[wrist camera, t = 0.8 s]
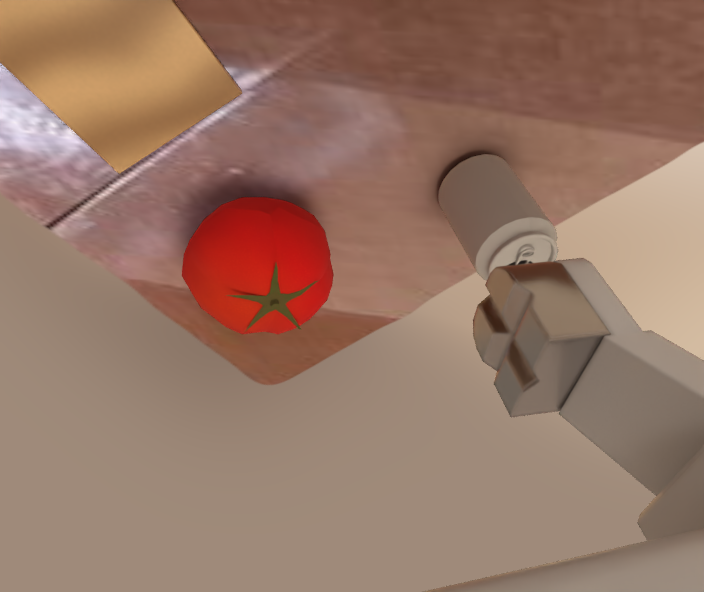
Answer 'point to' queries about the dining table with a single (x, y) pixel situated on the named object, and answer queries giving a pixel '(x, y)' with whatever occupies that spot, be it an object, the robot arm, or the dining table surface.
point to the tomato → (259, 265)
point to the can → (495, 215)
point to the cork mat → (115, 70)
